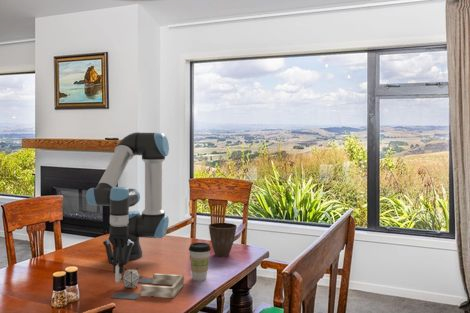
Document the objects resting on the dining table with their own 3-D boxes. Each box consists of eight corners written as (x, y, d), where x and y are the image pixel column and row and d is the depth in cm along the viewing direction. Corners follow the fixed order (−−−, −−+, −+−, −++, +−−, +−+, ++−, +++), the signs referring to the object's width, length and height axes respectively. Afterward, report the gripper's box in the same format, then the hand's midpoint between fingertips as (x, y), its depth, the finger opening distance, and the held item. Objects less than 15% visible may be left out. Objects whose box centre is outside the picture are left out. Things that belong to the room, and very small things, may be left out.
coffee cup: (201, 283, 180) (202, 249, 179) (183, 279, 185) (184, 245, 185) (214, 277, 188) (215, 244, 188) (197, 273, 194) (197, 241, 193)
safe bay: (141, 295, 165) (141, 285, 165) (153, 282, 180) (153, 273, 180) (173, 298, 163) (173, 288, 163) (183, 284, 178) (183, 275, 178)
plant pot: (216, 249, 235) (216, 221, 234) (240, 253, 229) (241, 224, 228) (203, 256, 221) (203, 226, 221) (228, 260, 215) (229, 229, 214)
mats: (111, 298, 162) (111, 297, 162) (134, 277, 186) (134, 277, 186) (135, 299, 161) (135, 299, 161) (155, 279, 184) (155, 278, 184)
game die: (132, 298, 172) (133, 284, 165) (115, 288, 173) (115, 274, 167) (145, 282, 178) (146, 268, 172) (128, 273, 180) (129, 258, 174)
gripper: (100, 225, 170) (99, 282, 171) (130, 227, 168) (129, 285, 169) (108, 222, 177) (107, 277, 178) (137, 223, 176) (136, 279, 177)
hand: (118, 280), depth 174 cm, fingers closed
